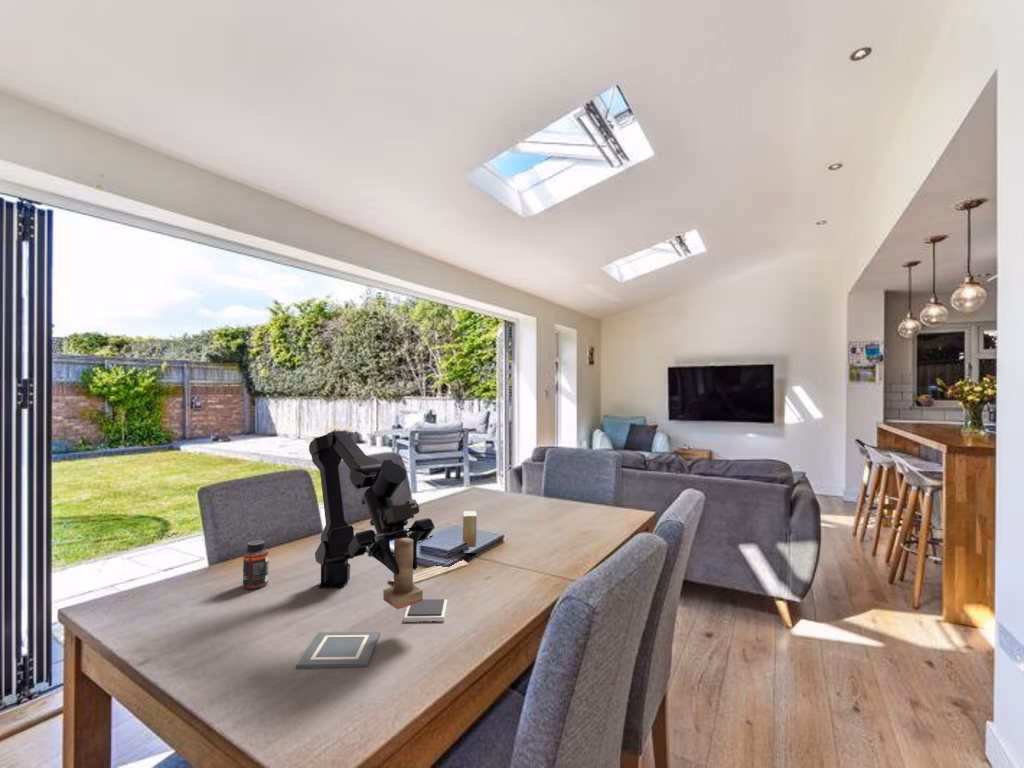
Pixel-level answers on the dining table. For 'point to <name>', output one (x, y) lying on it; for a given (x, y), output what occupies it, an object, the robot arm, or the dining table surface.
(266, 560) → the supplement bottle
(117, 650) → the dining table surface
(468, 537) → the skincare box
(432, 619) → the ink pad
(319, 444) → the robot arm
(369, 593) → the dining table surface
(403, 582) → the stamp
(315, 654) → the form board
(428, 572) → the newspaper
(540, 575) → the dining table surface
